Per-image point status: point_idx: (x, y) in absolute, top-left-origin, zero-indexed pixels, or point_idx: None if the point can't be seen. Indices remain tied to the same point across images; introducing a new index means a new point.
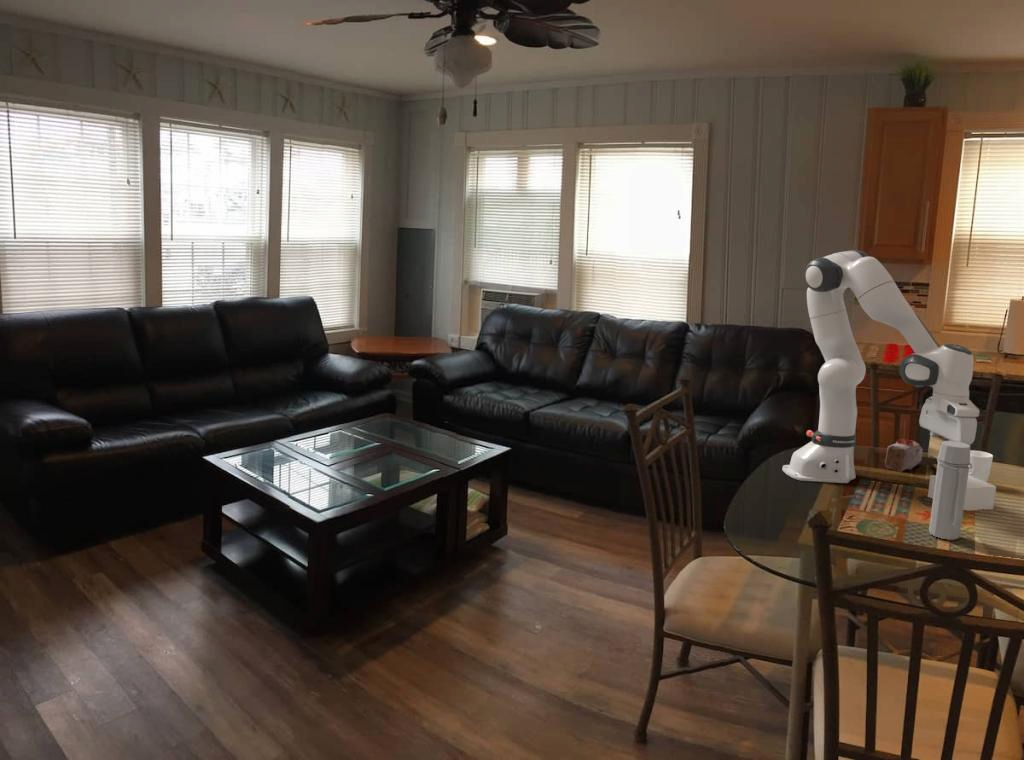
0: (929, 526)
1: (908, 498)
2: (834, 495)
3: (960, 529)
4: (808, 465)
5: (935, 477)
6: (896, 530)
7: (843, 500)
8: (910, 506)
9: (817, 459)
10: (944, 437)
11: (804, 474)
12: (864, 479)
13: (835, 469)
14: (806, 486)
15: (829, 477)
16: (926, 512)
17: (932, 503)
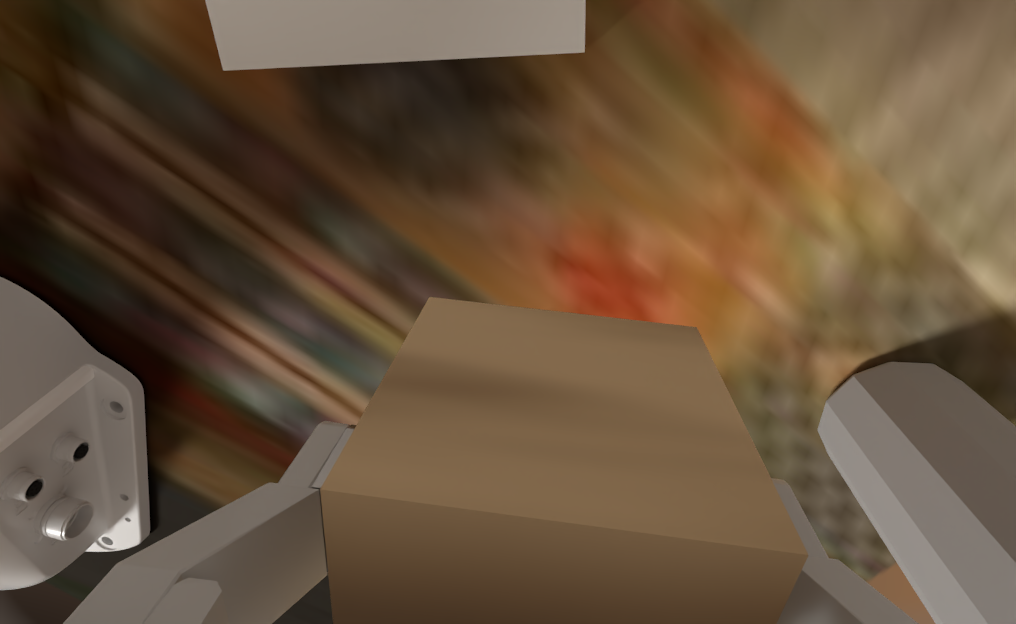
0: (838, 469)
1: (347, 215)
2: None
3: (990, 405)
4: (66, 555)
5: (278, 64)
6: None
7: None
8: (475, 292)
9: (29, 557)
10: (355, 558)
11: (104, 527)
12: (41, 253)
13: (74, 461)
14: None
15: (106, 444)
16: (573, 270)
17: (906, 576)
